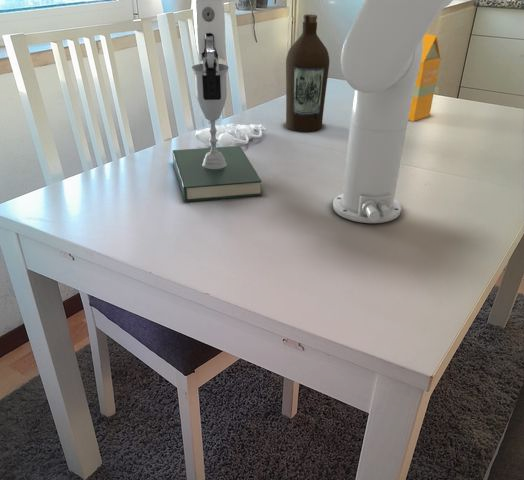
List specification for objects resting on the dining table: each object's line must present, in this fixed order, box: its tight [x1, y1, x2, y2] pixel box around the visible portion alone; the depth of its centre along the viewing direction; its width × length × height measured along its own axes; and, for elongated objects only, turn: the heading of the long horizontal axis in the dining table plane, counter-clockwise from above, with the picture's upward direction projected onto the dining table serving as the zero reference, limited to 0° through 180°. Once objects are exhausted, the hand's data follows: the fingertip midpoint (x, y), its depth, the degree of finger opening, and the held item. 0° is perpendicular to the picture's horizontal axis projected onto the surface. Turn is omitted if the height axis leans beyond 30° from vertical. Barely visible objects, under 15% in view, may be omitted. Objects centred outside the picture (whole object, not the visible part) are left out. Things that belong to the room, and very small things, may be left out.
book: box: [171, 145, 262, 203], centre depth 112 cm, size 21×15×3 cm
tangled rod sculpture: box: [194, 123, 267, 147], centre depth 131 cm, size 19×14×4 cm
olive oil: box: [285, 13, 330, 133], centre depth 134 cm, size 11×11×25 cm
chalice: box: [191, 63, 229, 169], centre depth 105 cm, size 7×7×18 cm
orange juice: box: [408, 33, 442, 122], centre depth 145 cm, size 8×9×20 cm
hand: (211, 92), depth 102 cm, fingers open, 9 cm apart
